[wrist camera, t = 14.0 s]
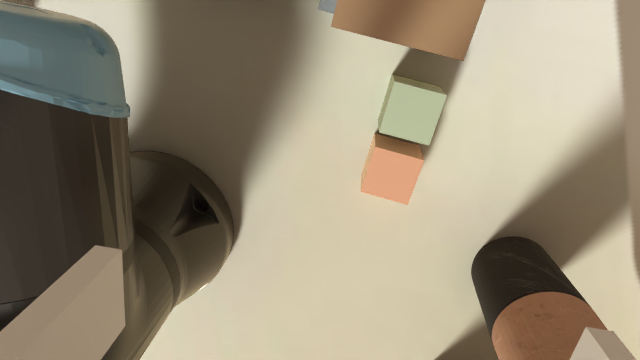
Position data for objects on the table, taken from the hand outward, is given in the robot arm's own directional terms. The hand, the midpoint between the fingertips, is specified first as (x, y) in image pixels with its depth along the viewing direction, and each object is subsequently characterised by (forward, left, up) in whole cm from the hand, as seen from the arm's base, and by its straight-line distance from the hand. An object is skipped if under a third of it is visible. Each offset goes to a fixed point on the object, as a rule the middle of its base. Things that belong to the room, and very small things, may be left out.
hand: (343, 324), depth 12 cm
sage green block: (+3, +2, -26) cm, 26 cm away
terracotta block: (+3, -3, -26) cm, 27 cm away
